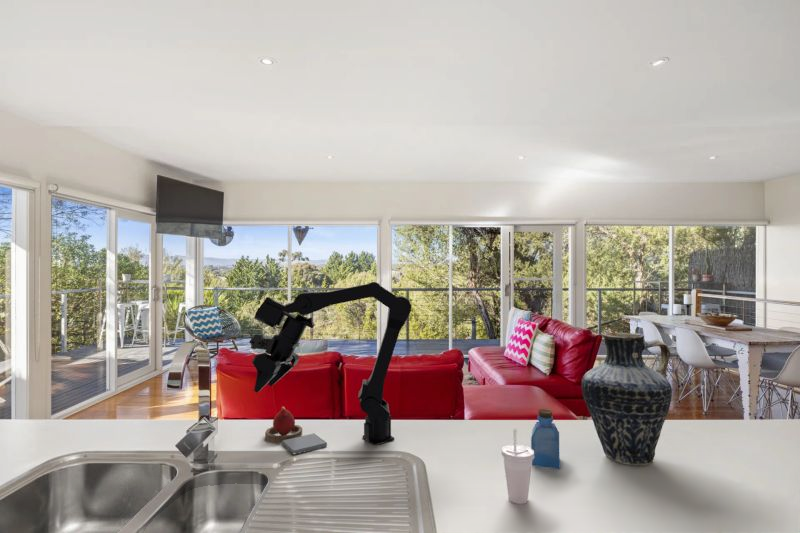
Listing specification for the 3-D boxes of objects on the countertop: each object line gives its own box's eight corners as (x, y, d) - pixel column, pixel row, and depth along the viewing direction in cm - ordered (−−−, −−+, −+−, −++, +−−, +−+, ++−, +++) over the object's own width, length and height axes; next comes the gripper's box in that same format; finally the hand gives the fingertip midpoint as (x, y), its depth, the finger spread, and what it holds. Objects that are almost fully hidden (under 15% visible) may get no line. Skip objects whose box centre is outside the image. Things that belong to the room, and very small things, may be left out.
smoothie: (497, 491, 93) (497, 423, 93) (527, 490, 93) (527, 422, 94) (507, 508, 87) (507, 435, 87) (540, 506, 87) (539, 433, 87)
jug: (613, 479, 98) (612, 341, 98) (566, 444, 117) (566, 329, 118) (697, 472, 101) (696, 338, 102) (638, 439, 121) (638, 327, 121)
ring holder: (294, 427, 131) (294, 421, 131) (307, 437, 123) (307, 431, 123) (261, 434, 126) (261, 428, 126) (272, 445, 118) (272, 439, 118)
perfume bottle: (559, 458, 109) (558, 408, 109) (559, 469, 103) (559, 416, 103) (532, 454, 111) (532, 406, 111) (531, 465, 105) (530, 413, 106)
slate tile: (314, 436, 124) (314, 433, 124) (326, 446, 117) (326, 442, 117) (282, 444, 119) (282, 440, 119) (293, 454, 112) (293, 450, 112)
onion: (297, 432, 127) (297, 404, 127) (290, 440, 121) (290, 410, 121) (277, 431, 128) (277, 403, 128) (269, 439, 122) (269, 410, 122)
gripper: (276, 321, 131) (252, 369, 130) (248, 323, 112) (220, 380, 112) (310, 338, 129) (285, 387, 129) (287, 343, 111) (258, 401, 110)
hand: (263, 388), depth 120 cm, fingers open, 9 cm apart
